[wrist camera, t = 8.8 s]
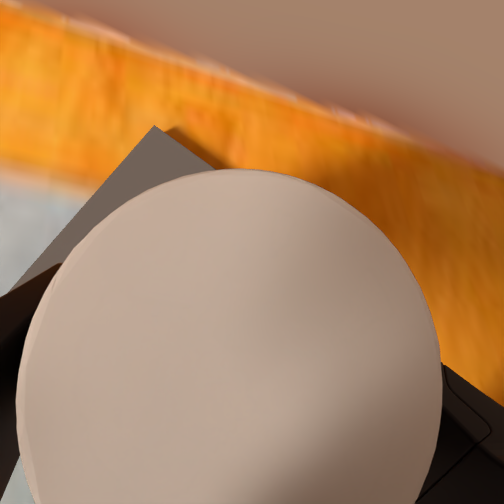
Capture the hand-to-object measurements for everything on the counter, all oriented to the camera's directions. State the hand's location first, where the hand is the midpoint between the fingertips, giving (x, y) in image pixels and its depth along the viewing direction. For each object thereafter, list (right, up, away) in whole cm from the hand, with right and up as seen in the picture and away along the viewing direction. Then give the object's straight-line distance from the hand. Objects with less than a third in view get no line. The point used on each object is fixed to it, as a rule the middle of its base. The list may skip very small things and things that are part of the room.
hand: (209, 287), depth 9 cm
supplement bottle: (-2, -3, +7) cm, 7 cm away
